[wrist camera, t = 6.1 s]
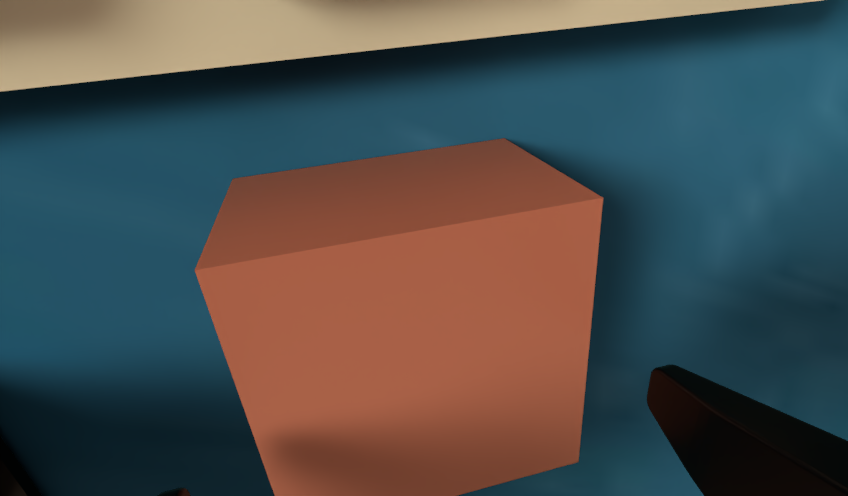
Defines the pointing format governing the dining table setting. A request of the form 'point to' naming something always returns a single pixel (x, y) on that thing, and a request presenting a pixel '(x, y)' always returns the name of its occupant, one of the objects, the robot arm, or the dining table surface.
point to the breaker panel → (275, 30)
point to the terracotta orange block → (407, 318)
